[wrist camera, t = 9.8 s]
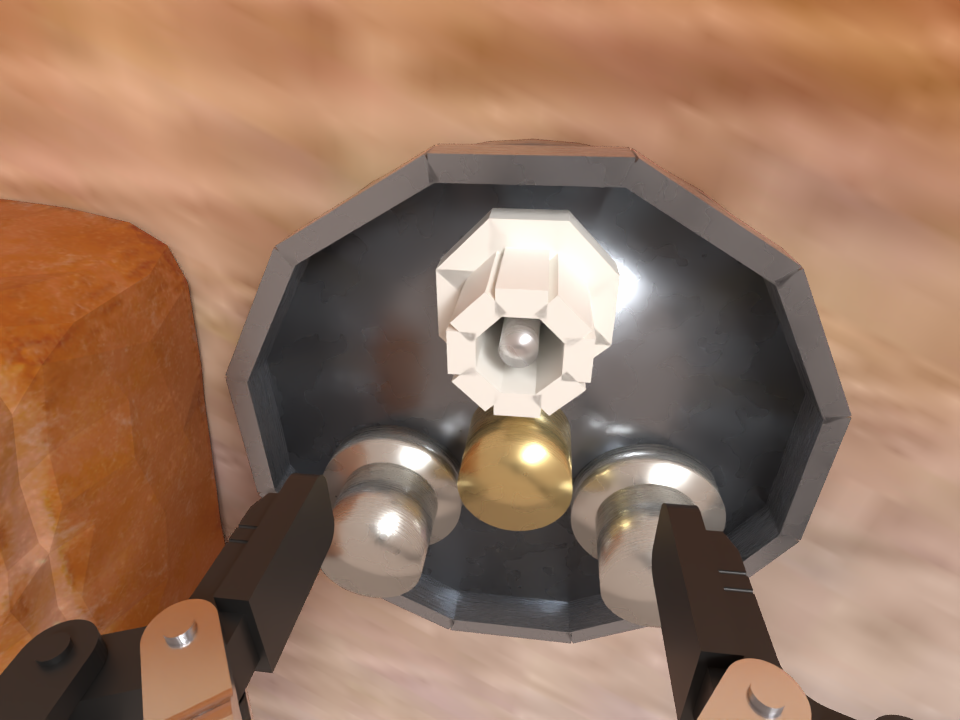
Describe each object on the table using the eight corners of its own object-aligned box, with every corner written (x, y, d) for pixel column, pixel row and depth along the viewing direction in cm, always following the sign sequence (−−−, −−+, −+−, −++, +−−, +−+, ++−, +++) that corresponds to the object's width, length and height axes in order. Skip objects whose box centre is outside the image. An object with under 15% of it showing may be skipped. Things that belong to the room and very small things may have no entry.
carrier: (732, 608, 34) (769, 729, 28) (312, 565, 37) (265, 668, 31) (898, 144, 20) (1039, 189, 14) (212, 133, 23) (93, 167, 17)
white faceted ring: (623, 211, 21) (642, 261, 17) (603, 370, 25) (613, 447, 20) (440, 206, 22) (408, 252, 17) (446, 361, 26) (421, 433, 21)
